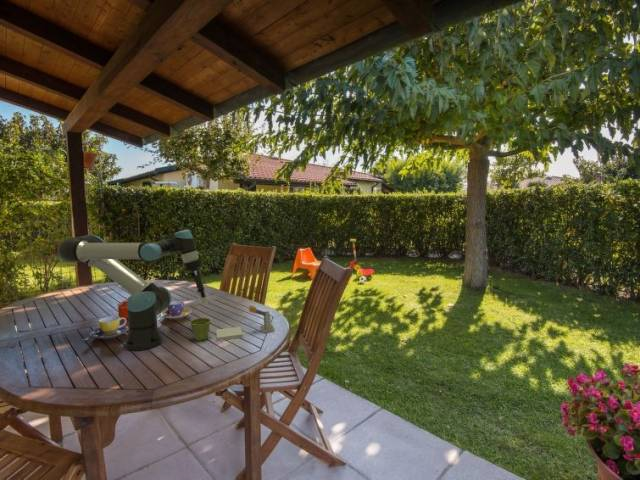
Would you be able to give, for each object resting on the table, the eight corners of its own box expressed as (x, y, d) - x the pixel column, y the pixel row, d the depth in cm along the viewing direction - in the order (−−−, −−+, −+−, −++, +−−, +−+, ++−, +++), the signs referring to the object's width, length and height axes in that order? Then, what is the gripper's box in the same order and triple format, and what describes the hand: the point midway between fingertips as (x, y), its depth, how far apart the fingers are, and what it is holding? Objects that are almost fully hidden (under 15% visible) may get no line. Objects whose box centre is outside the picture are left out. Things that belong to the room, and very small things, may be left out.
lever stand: (262, 333, 171) (262, 315, 170) (260, 328, 178) (259, 311, 177) (274, 331, 173) (274, 314, 172) (271, 326, 180) (271, 310, 179)
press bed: (217, 340, 162) (216, 337, 162) (216, 332, 173) (216, 329, 173) (242, 337, 166) (242, 334, 166) (240, 329, 177) (240, 326, 176)
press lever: (249, 312, 170) (251, 307, 170) (248, 309, 174) (250, 305, 174) (268, 318, 173) (270, 314, 173) (267, 315, 177) (269, 311, 177)
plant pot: (205, 343, 160) (204, 325, 159) (187, 341, 162) (186, 323, 161) (215, 335, 169) (214, 318, 168) (197, 334, 171) (197, 317, 170)
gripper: (200, 259, 159) (214, 302, 161) (198, 257, 182) (210, 295, 184) (184, 264, 156) (198, 308, 158) (183, 261, 179) (195, 299, 181)
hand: (204, 301), depth 171 cm, fingers open, 13 cm apart
